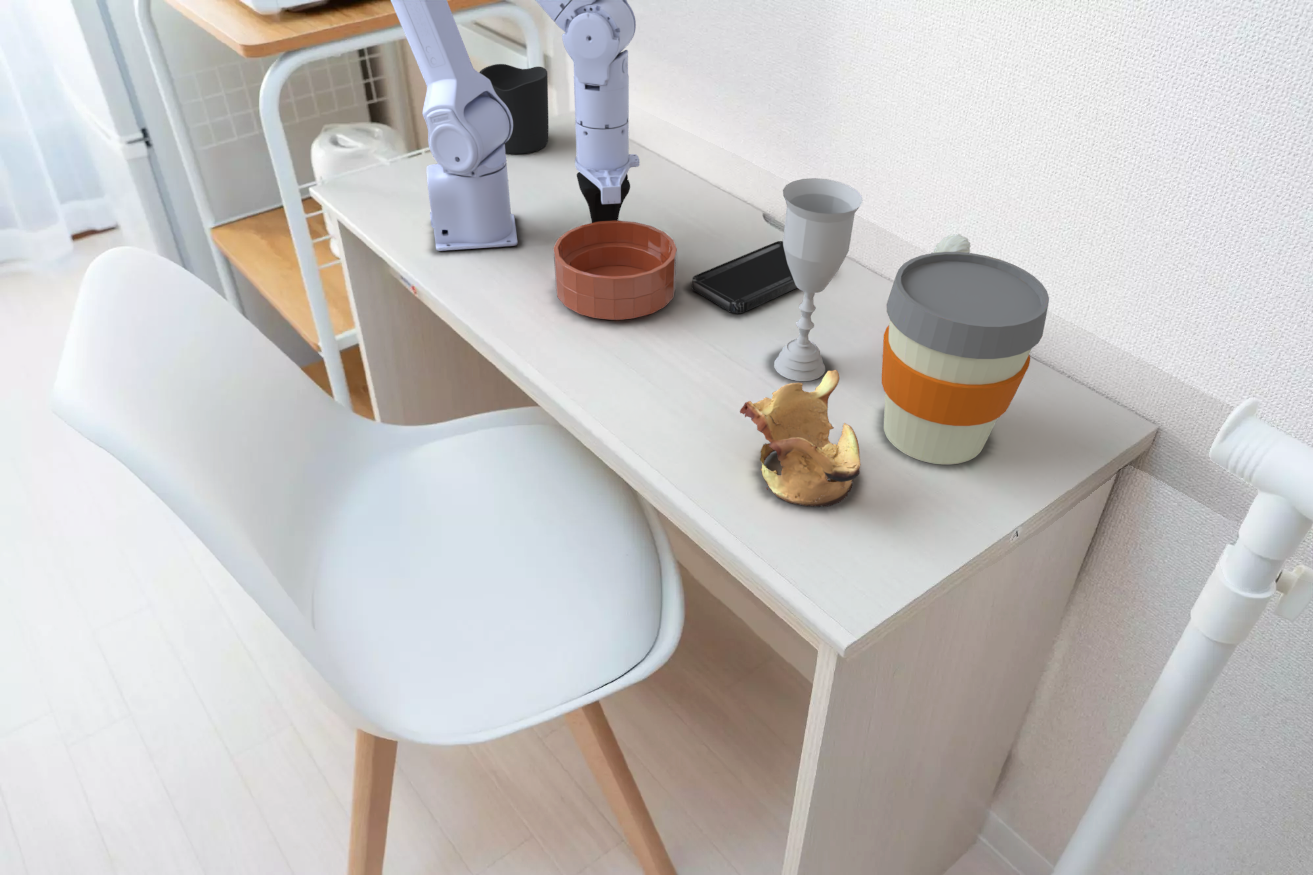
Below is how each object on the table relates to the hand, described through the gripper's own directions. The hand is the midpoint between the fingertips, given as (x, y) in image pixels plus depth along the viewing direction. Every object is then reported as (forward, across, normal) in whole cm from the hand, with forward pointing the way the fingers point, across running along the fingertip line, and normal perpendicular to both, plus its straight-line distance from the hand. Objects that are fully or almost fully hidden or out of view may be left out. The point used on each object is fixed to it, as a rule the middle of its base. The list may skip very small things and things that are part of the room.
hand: (604, 235), depth 109 cm
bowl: (+2, -9, 0) cm, 9 cm away
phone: (+2, -9, -17) cm, 19 cm away
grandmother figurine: (+2, -25, -30) cm, 39 cm away
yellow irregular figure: (+2, -42, -12) cm, 44 cm away
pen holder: (+3, +35, +8) cm, 36 cm away
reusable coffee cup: (+2, -38, -25) cm, 45 cm away
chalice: (+2, -26, -16) cm, 31 cm away
